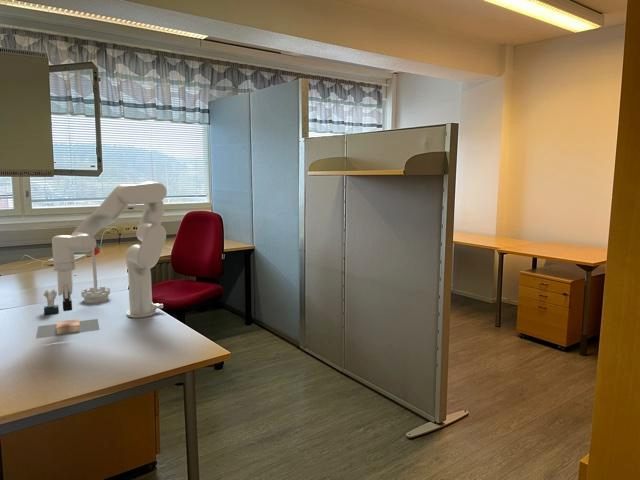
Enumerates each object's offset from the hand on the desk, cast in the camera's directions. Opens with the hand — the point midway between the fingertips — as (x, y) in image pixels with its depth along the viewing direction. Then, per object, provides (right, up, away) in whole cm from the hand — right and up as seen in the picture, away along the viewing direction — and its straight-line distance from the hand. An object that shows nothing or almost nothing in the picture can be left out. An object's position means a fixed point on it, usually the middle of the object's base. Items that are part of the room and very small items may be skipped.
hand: (67, 310), depth 190 cm
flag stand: (-9, -2, +44) cm, 45 cm away
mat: (0, -8, 0) cm, 8 cm away
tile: (-1, -6, +2) cm, 6 cm away
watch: (-19, -5, +21) cm, 29 cm away
